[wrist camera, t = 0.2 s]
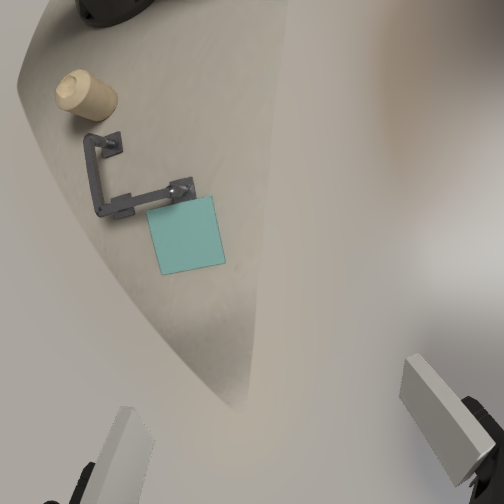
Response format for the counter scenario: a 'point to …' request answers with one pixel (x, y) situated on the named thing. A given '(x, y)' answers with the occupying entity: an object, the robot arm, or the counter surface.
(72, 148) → the counter surface
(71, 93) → the candle
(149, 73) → the counter surface
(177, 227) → the pad
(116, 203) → the handrail
